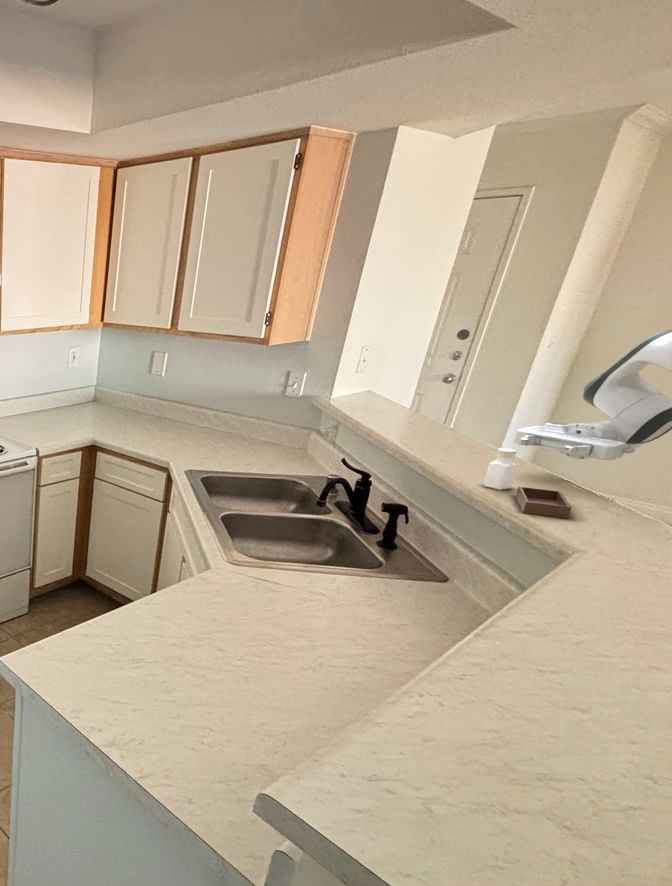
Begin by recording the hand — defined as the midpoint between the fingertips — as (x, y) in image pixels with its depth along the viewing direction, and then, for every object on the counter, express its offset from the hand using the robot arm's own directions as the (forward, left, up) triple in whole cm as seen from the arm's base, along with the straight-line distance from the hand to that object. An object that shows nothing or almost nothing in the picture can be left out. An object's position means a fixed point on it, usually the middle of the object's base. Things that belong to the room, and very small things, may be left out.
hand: (543, 446), depth 143 cm
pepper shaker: (+9, +8, -9) cm, 15 cm away
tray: (+5, +22, -9) cm, 24 cm away
